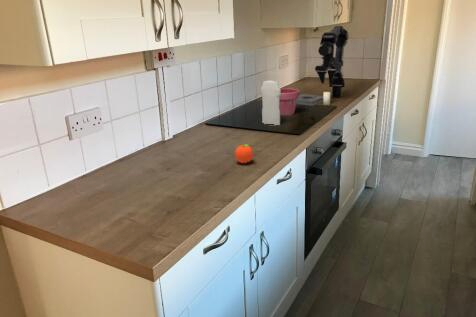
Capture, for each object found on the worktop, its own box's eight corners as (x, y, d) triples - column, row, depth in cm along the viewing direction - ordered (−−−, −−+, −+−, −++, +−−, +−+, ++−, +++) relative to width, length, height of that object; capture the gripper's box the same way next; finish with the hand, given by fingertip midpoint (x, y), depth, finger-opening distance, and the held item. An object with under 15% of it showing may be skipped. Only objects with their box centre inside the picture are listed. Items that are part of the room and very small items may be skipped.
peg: (324, 102, 240) (325, 91, 238) (331, 103, 238) (331, 92, 235) (321, 104, 237) (322, 92, 235) (328, 105, 235) (328, 93, 232)
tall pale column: (282, 124, 201) (282, 80, 193) (279, 126, 197) (278, 81, 190) (263, 122, 206) (262, 79, 198) (259, 124, 202) (258, 80, 194)
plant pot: (286, 109, 230) (286, 86, 225) (304, 113, 219) (304, 90, 214) (267, 113, 222) (267, 90, 217) (284, 118, 211) (284, 94, 207)
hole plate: (302, 97, 256) (302, 93, 255) (325, 100, 246) (325, 96, 245) (289, 102, 244) (289, 98, 243) (312, 105, 235) (312, 101, 234)
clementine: (244, 157, 158) (244, 140, 156) (258, 160, 154) (258, 143, 152) (231, 163, 153) (230, 145, 150) (246, 167, 148) (245, 149, 146)
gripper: (333, 56, 217) (331, 85, 221) (349, 55, 230) (346, 82, 235) (315, 55, 224) (313, 83, 228) (331, 54, 237) (330, 81, 242)
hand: (326, 82), depth 233 cm, fingers open, 9 cm apart
